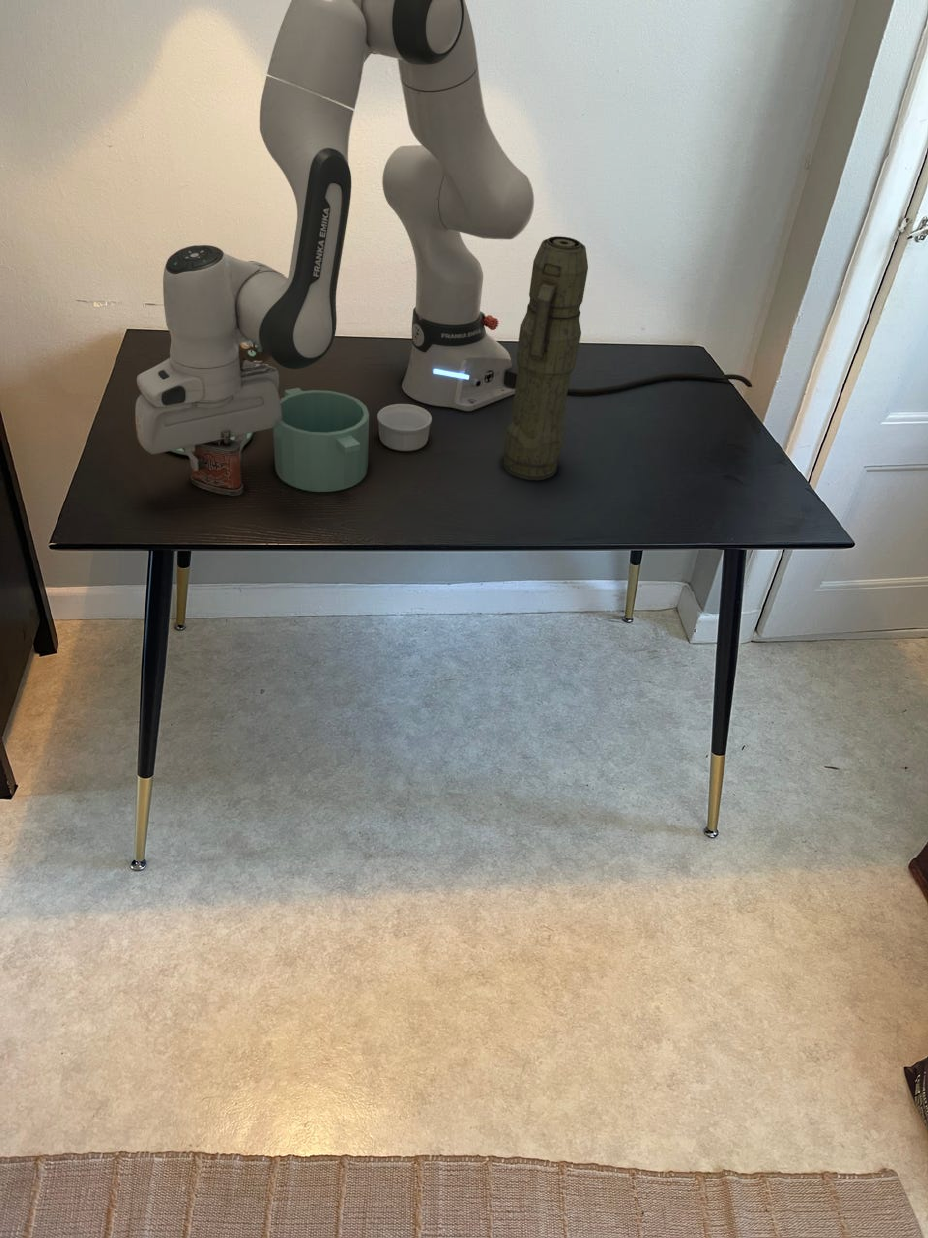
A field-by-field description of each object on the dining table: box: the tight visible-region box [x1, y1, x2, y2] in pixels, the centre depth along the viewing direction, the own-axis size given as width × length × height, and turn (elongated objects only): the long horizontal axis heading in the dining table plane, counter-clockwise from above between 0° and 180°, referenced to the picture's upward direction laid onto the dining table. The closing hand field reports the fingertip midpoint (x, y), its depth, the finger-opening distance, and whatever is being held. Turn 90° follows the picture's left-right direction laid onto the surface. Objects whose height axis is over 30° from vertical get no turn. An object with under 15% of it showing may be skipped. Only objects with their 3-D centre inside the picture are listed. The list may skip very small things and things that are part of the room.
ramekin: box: [376, 403, 433, 452], centre depth 146 cm, size 9×9×4 cm
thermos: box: [502, 235, 589, 481], centre depth 134 cm, size 9×12×35 cm
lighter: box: [190, 430, 244, 497], centre depth 129 cm, size 8×3×10 cm, turn 71°
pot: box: [272, 387, 370, 493], centre depth 136 cm, size 14×19×10 cm
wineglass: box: [239, 340, 272, 366], centre depth 152 cm, size 6×6×12 cm
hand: (216, 464), depth 130 cm, fingers open, 4 cm apart
